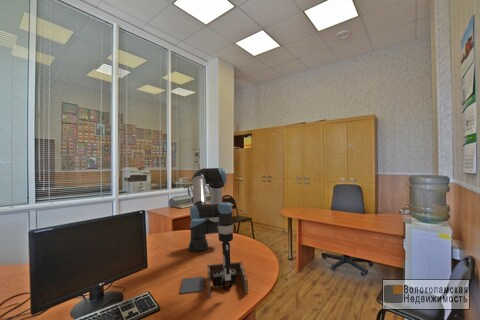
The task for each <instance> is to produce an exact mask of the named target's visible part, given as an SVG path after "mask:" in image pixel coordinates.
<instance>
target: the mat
mask: <svg viewBox="0 0 480 320" xmlns="http://www.w3.org/2000/svg"><path fill="white" fill-rule="evenodd" d="M204 290H205V276H196V277H195V276H194V277H185V278H184V277H183V278H182V280H181V285H180V290H179V295H186V294H195V293H202V292H204Z"/></svg>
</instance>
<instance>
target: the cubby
mask: <svg viewBox="0 0 480 320" xmlns="http://www.w3.org/2000/svg"><path fill="white" fill-rule="evenodd" d="M230 264H231V268H230V270H232V269H234V270H235V271H236V277H237V276H239V278H240V280H241V284H242V287H243V291H244V294H245V295H248V294H249V280H248V276H247V272H246V271H245V267H244V264H243V262H242V261H235V262H230ZM206 267H207V268H206V269H207V271H206V273H207V274H206V276H207V277H206V278H207V279H206V282H207V283H206V286H207V287H206V288H207V299H211V298H212V297H211V296H212V295H211V294H212V293H211V292H212V291H211V290H212V289H211V279H213V273H214V272H216V271H223V270H224V268H223V262H222V263H213V264H207V265H206Z"/></svg>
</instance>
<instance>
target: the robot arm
mask: <svg viewBox="0 0 480 320" xmlns="http://www.w3.org/2000/svg"><path fill="white" fill-rule="evenodd" d="M227 183H228V182H227V174H226V170H225V169H224V168H223V167H211V168H210V167H209V168H207V167H205V168H200V169H199V170H197V171H196V172H194V174H193V175H192V177H191V185H192V195H193V198H192V199H193V201H192V202H193V205H191V206H189V218H190V219H191V220H190V223H189V224H190V226H189V227H190V239H189V243H188V251H190V252H192V253H201V252H204V251H207V250H208V249H209V242H208V240H207V235H211V234H218V241H219V242H221V246H222V263H223V268H225V281H228V280H231V272H230V268H231V264H230V263H231V243H230V242H232V241H233V240H234V233H233V231H234V224H233V203H232V202H228V201H226V202H223V188H225V184H227ZM206 185H208V187H209V188H210V204H207V198H206V197H207V196H206V187H205V186H206Z"/></svg>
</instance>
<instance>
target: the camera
mask: <svg viewBox="0 0 480 320" xmlns="http://www.w3.org/2000/svg"><path fill="white" fill-rule="evenodd" d="M230 272H231V280H228V281H225V268H224V270H223V271H216V272H214V273H213V278H212V287H213V288H220V287H222V288H223V289H224V290H230V289H231V288H232V286H234V285H237V276H236V271H235V270H234V269H232V270H230Z"/></svg>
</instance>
